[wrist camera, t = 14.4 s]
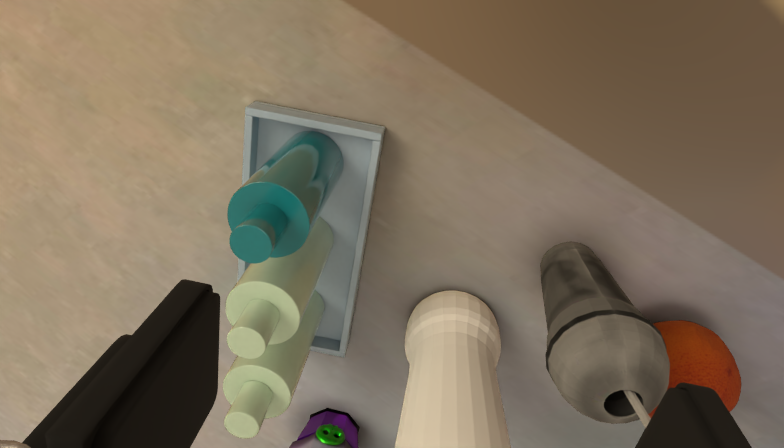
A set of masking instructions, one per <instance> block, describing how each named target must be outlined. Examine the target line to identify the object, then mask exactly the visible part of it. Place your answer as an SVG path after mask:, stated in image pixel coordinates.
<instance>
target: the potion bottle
mask: <svg viewBox="0 0 784 448" xmlns="http://www.w3.org/2000/svg"><path fill="white" fill-rule="evenodd" d="M359 428H360V427H359V426H358V425H357V424H356V422H355V421H354V420H353V419H352V417H351V416H350V415H349V414H348V413H345V412H341V411H337V410H333V409H329V408H326V409H324V410H321V411H319V412H317V413H314V414H312V415H310V420H309V422H308V423H307V425H306V426H305V428H304V430H303V431H302V433H301V434H300V436H299V437H298V439H297V441H294V442H293V443H292V444H291V446H290V447H289V448H358V431H359Z"/></svg>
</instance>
